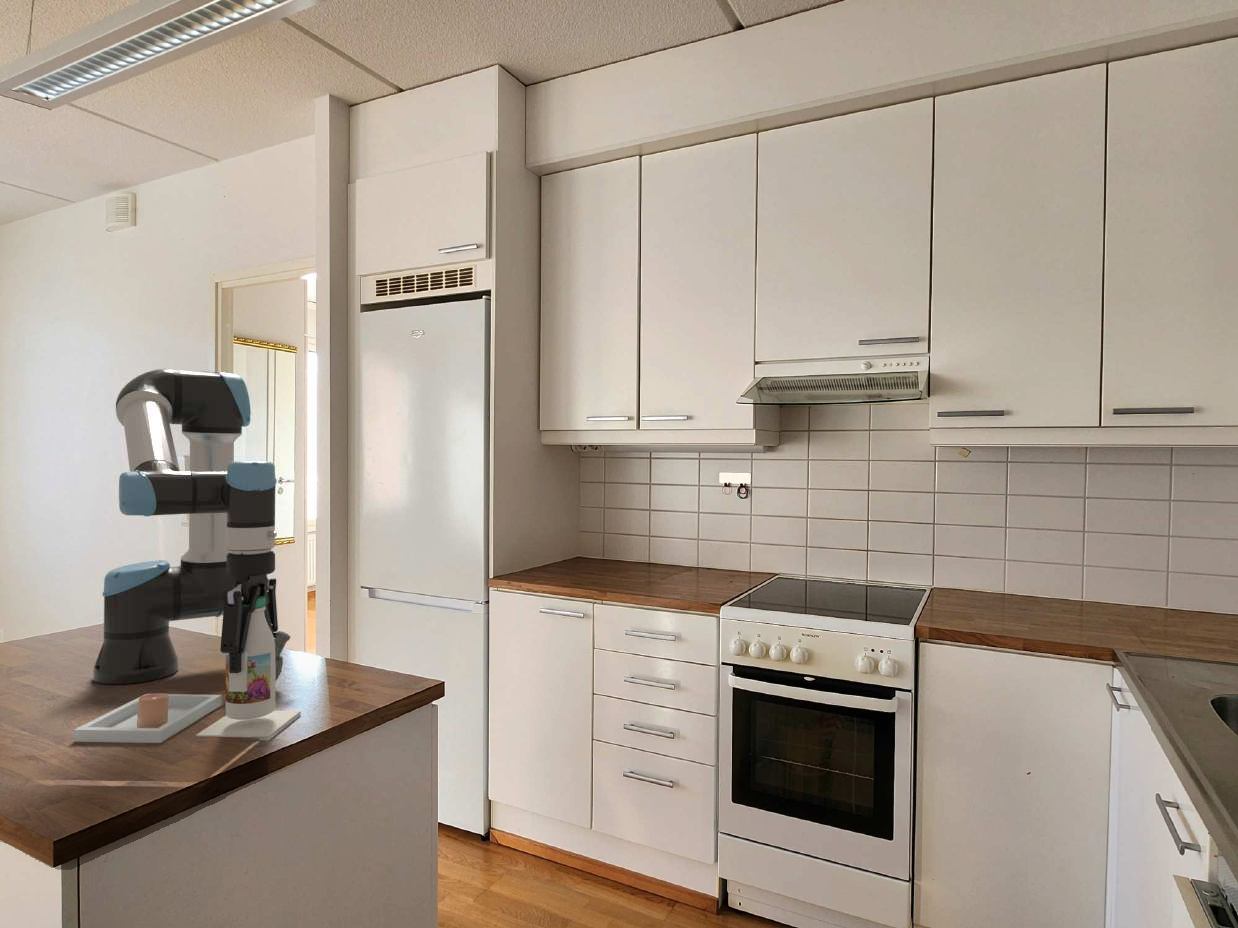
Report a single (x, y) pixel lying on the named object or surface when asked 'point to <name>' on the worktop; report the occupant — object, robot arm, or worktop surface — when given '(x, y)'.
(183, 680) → the worktop surface
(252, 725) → the pad
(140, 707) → the pinkish brown rounded cylinder
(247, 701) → the milk bottle
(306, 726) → the worktop surface
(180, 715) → the tray
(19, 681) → the worktop surface
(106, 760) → the worktop surface
